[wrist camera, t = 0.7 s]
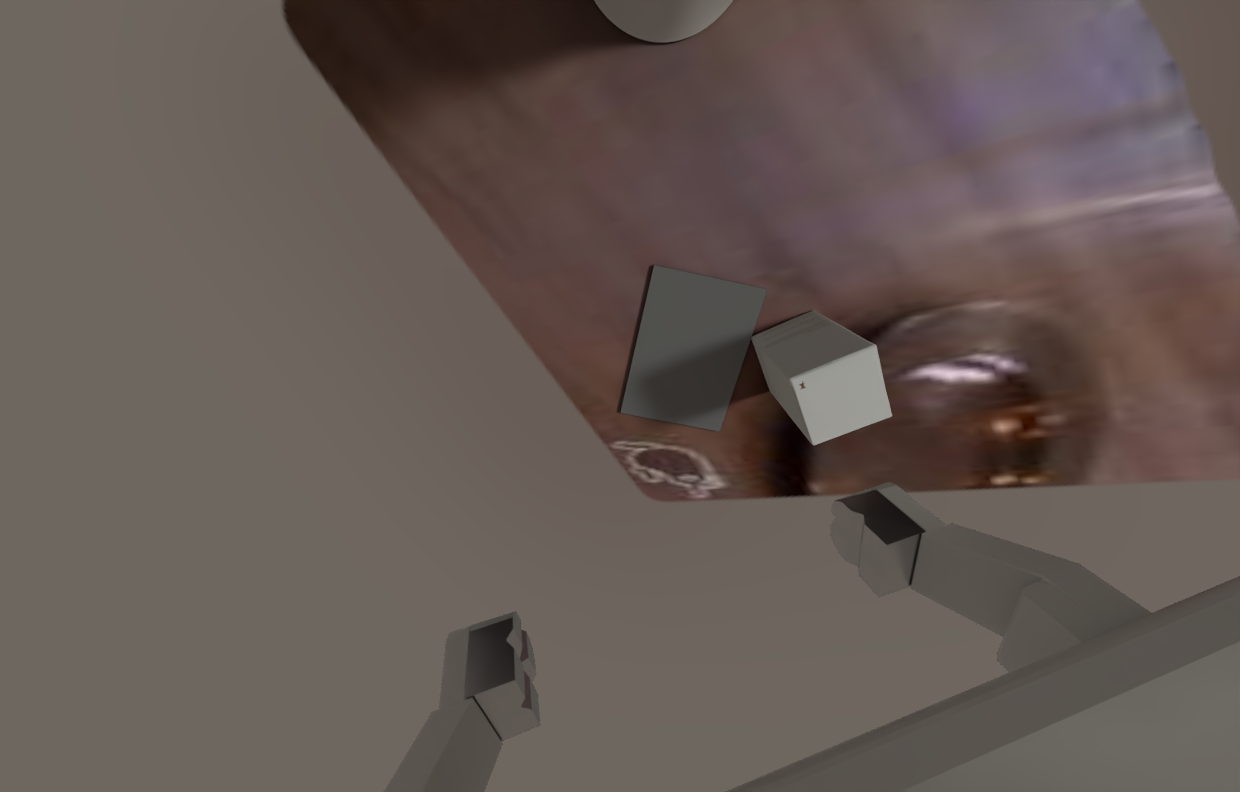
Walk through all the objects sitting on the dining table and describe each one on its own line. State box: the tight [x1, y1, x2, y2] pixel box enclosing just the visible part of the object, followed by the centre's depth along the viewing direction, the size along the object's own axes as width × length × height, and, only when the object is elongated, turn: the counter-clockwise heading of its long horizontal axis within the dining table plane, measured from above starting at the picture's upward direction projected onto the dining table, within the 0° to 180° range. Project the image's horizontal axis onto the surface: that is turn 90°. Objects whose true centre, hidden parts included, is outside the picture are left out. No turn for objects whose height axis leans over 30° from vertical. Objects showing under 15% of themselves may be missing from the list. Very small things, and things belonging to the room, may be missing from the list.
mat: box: [620, 265, 767, 432], centre depth 49 cm, size 17×12×1 cm
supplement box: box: [751, 310, 892, 445], centre depth 44 cm, size 7×7×13 cm
